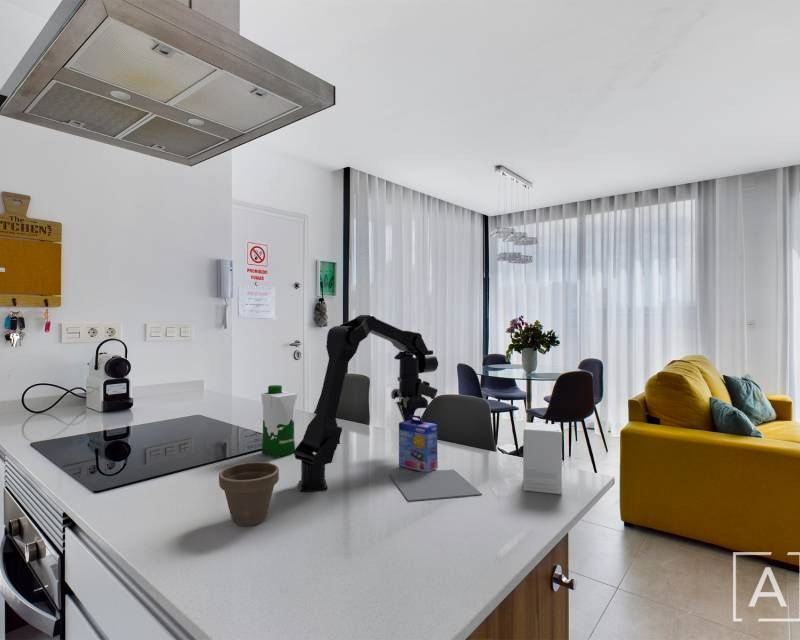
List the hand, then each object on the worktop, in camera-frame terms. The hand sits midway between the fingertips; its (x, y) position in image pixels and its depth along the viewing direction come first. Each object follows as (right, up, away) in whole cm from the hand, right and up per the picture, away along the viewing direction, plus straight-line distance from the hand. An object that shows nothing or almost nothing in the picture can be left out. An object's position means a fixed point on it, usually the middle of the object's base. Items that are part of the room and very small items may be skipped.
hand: (408, 427), depth 138 cm
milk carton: (-39, -9, +2) cm, 40 cm away
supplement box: (+33, -10, -22) cm, 41 cm away
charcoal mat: (+6, -9, -22) cm, 25 cm away
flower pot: (-33, -9, -44) cm, 55 cm away
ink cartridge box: (+2, -9, -10) cm, 13 cm away
